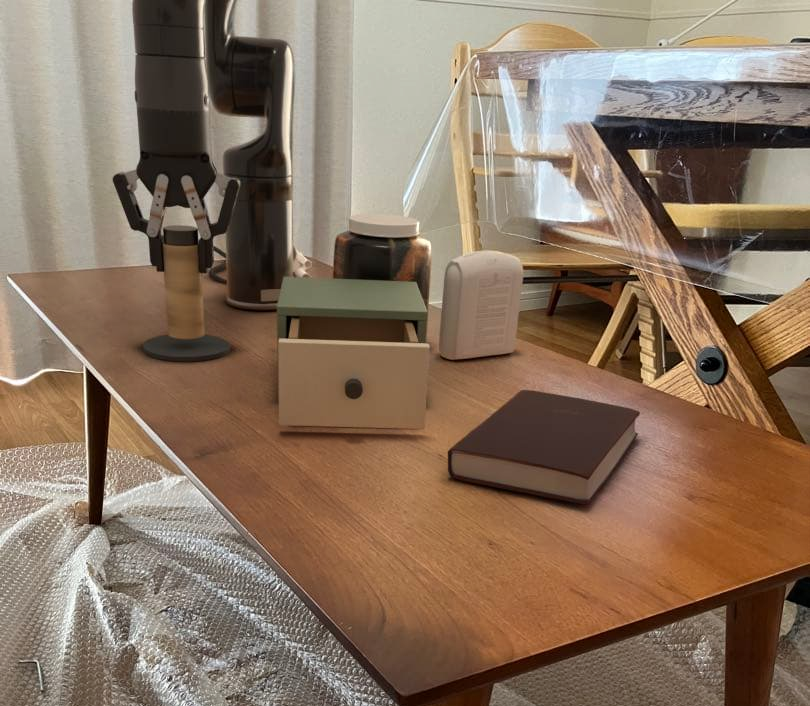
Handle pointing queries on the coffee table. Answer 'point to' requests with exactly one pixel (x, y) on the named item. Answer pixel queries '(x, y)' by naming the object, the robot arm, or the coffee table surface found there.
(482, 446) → the book
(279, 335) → the cabinet
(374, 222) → the jar
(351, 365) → the drawer
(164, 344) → the coaster
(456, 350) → the cream rounded block
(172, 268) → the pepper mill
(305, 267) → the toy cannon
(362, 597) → the coffee table surface
